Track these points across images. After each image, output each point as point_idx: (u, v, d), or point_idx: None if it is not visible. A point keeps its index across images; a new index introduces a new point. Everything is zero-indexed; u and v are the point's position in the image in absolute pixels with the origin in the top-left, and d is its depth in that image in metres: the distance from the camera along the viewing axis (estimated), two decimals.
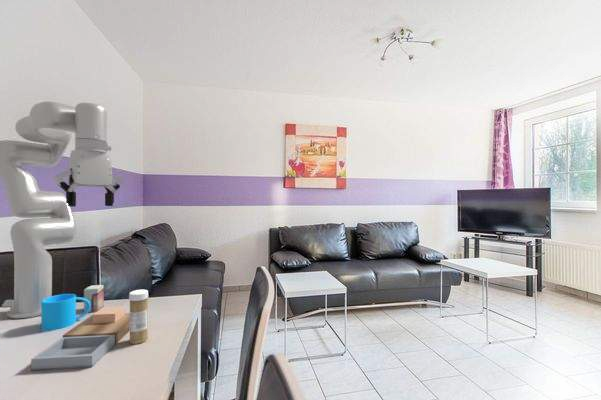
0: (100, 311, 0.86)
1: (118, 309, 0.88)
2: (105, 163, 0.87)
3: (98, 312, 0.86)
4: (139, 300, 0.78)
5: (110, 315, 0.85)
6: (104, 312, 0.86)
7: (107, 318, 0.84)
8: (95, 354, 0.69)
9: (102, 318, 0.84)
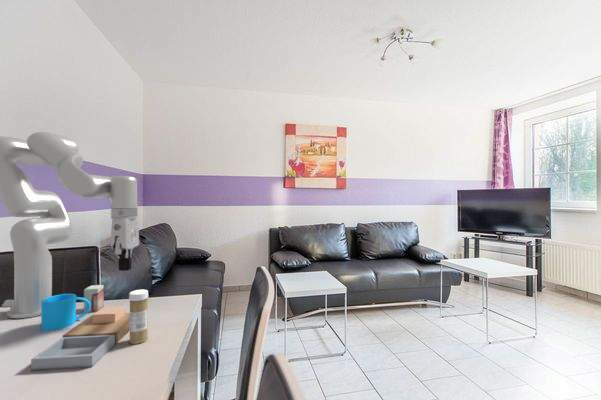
0: (100, 311, 0.86)
1: (118, 309, 0.88)
2: None
3: (98, 312, 0.86)
4: (139, 300, 0.78)
5: (110, 315, 0.85)
6: (104, 312, 0.86)
7: (107, 318, 0.84)
8: (95, 354, 0.69)
9: (102, 318, 0.84)
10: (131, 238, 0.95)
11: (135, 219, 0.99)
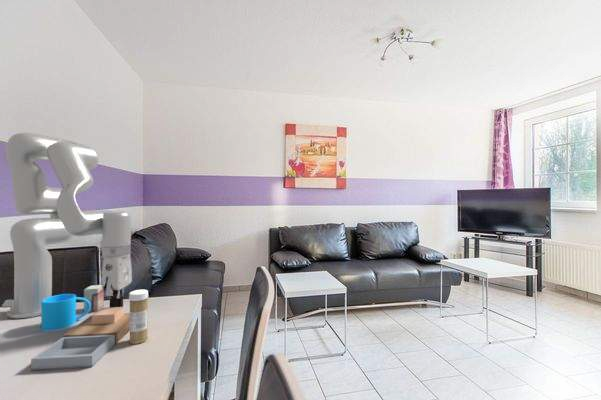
0: (99, 312, 0.86)
1: (117, 310, 0.88)
2: None
3: (97, 313, 0.85)
4: (139, 300, 0.78)
5: (109, 316, 0.84)
6: (103, 313, 0.85)
7: (106, 319, 0.84)
8: (95, 354, 0.69)
9: (101, 319, 0.84)
10: (123, 277, 0.90)
11: (128, 256, 0.94)
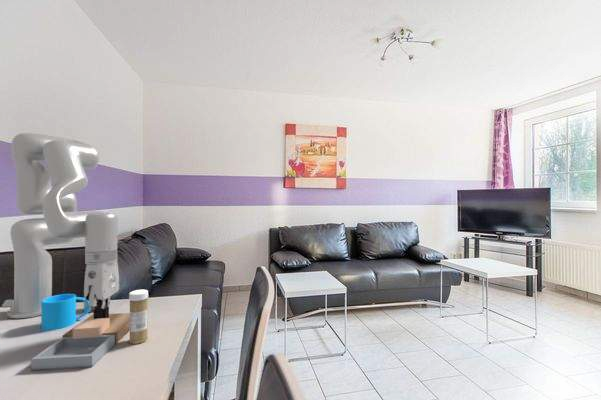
0: (81, 324, 0.77)
1: (102, 322, 0.79)
2: None
3: (79, 326, 0.76)
4: (139, 300, 0.78)
5: (93, 329, 0.76)
6: (86, 326, 0.76)
7: (90, 332, 0.75)
8: (95, 354, 0.69)
9: (84, 333, 0.75)
10: (109, 286, 0.82)
11: (115, 262, 0.85)
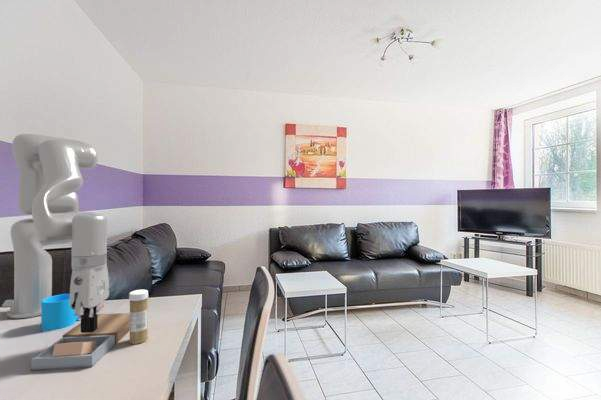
0: None
1: (83, 353, 0.70)
2: None
3: None
4: (139, 300, 0.78)
5: None
6: None
7: None
8: (95, 354, 0.69)
9: None
10: (97, 293, 0.76)
11: (104, 267, 0.80)
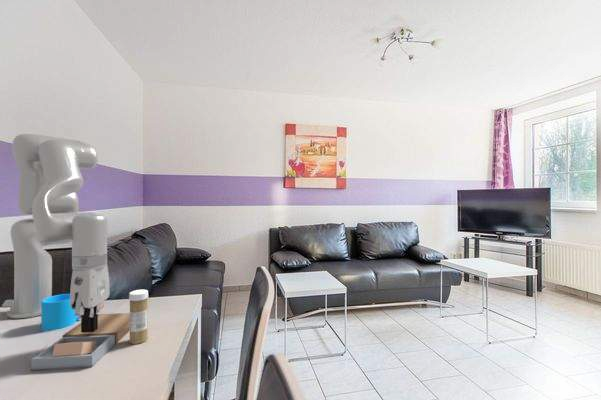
0: None
1: (83, 353, 0.70)
2: None
3: None
4: (139, 300, 0.78)
5: None
6: None
7: None
8: (95, 354, 0.69)
9: None
10: (97, 293, 0.76)
11: (105, 267, 0.80)
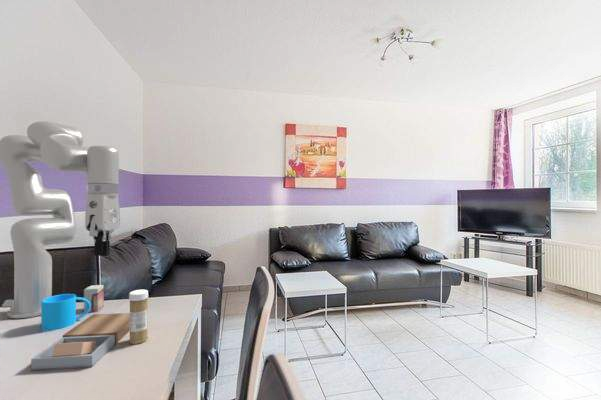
0: None
1: (83, 353, 0.70)
2: None
3: None
4: (139, 300, 0.78)
5: None
6: None
7: None
8: (95, 354, 0.69)
9: None
10: (110, 218, 0.82)
11: (116, 198, 0.86)
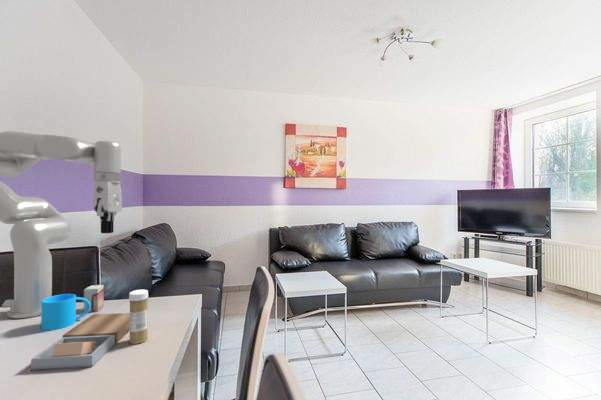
0: None
1: (83, 353, 0.70)
2: None
3: None
4: (139, 300, 0.78)
5: None
6: None
7: None
8: (95, 354, 0.69)
9: None
10: (113, 202, 0.98)
11: (118, 185, 1.02)
